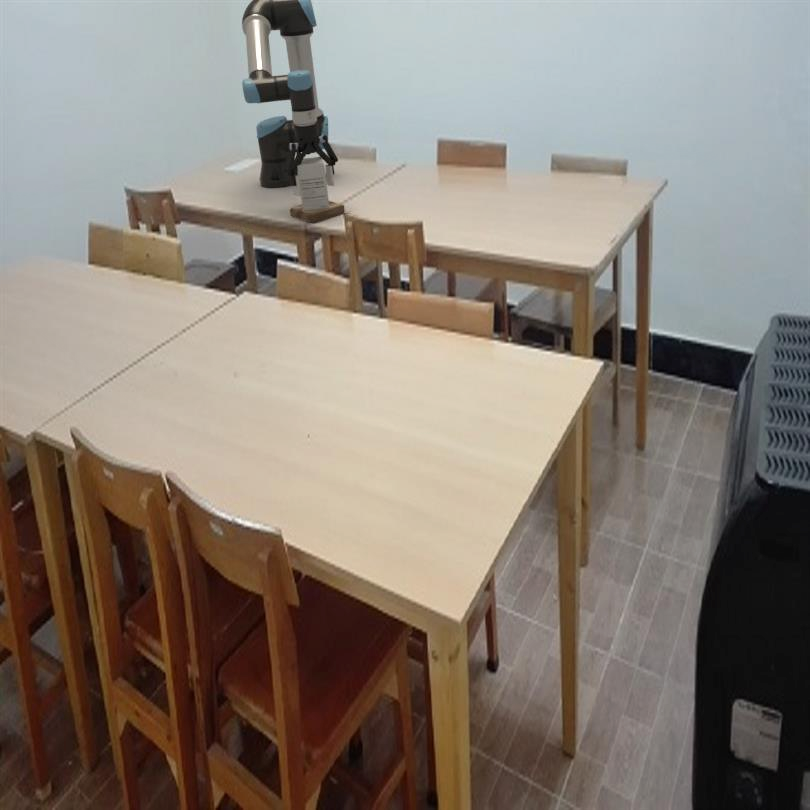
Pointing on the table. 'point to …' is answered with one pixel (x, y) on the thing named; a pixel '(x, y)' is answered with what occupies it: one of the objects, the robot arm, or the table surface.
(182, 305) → the table surface
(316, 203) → the supplement box
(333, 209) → the walnut base
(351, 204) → the table surface
